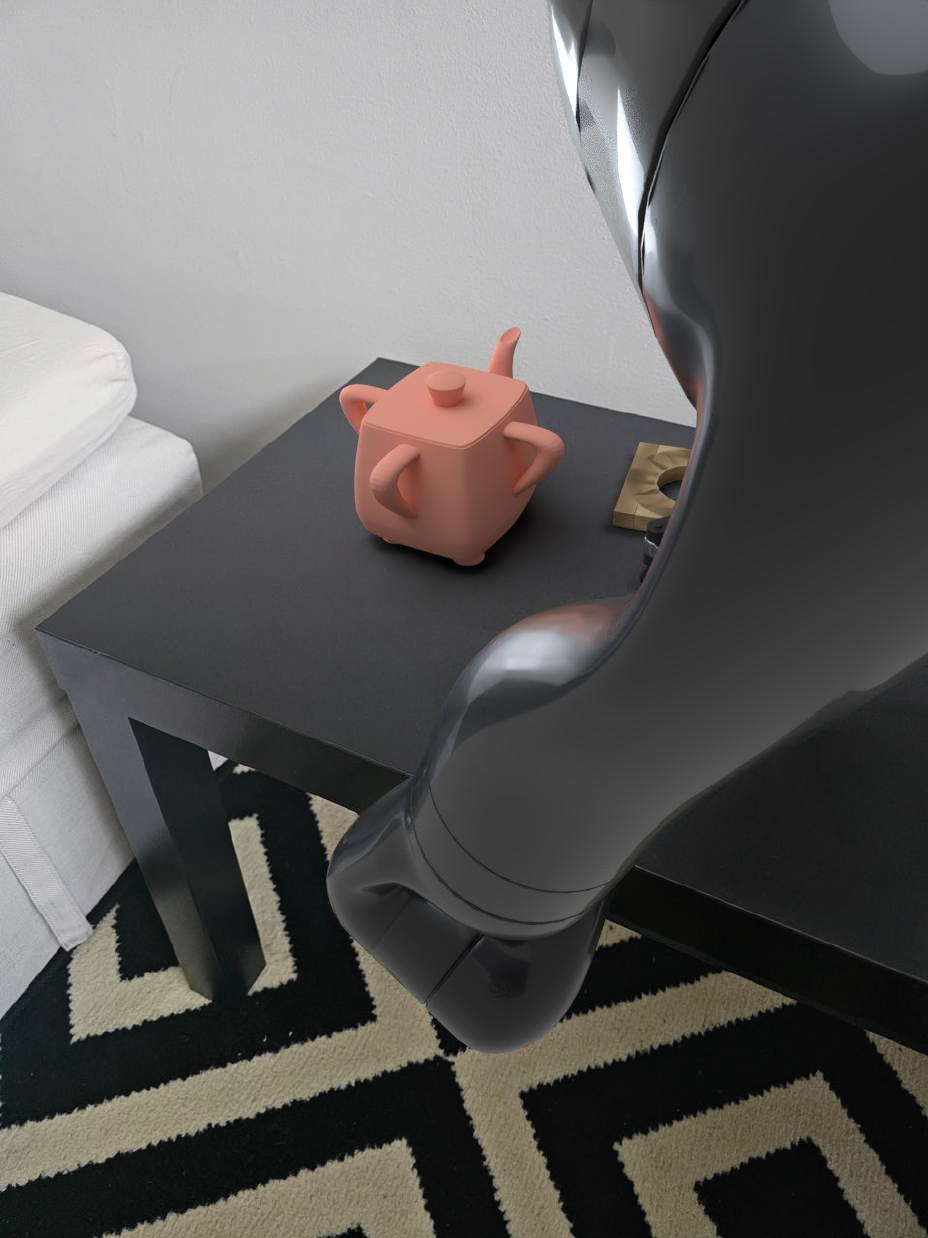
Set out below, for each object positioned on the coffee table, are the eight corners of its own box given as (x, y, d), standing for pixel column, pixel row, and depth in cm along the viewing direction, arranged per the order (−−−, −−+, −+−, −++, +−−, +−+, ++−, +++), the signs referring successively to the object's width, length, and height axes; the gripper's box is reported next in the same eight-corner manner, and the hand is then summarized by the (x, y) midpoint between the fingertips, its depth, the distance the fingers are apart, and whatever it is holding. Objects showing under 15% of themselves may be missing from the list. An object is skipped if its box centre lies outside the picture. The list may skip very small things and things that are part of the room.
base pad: (765, 474, 87) (768, 459, 86) (750, 549, 79) (753, 533, 78) (638, 456, 89) (640, 441, 88) (612, 526, 82) (613, 510, 81)
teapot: (386, 602, 75) (371, 450, 67) (336, 491, 86) (317, 349, 78) (590, 553, 79) (601, 403, 70) (516, 453, 90) (518, 314, 82)
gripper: (832, 673, 42) (968, 486, 52) (558, 554, 49) (726, 409, 59) (798, 788, 47) (929, 597, 57) (554, 666, 54) (709, 515, 64)
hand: (825, 502), depth 58 cm, fingers closed
